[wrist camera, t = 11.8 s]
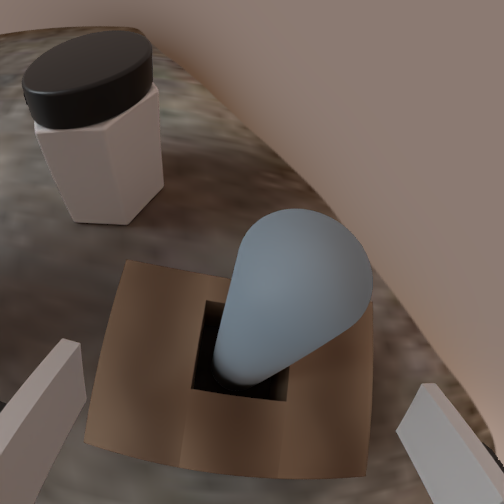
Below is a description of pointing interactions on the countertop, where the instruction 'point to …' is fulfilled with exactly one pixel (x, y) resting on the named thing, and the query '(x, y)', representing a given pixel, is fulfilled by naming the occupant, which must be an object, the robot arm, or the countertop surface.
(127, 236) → the countertop surface
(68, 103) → the jar
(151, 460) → the hole block
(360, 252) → the peg
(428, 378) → the countertop surface
